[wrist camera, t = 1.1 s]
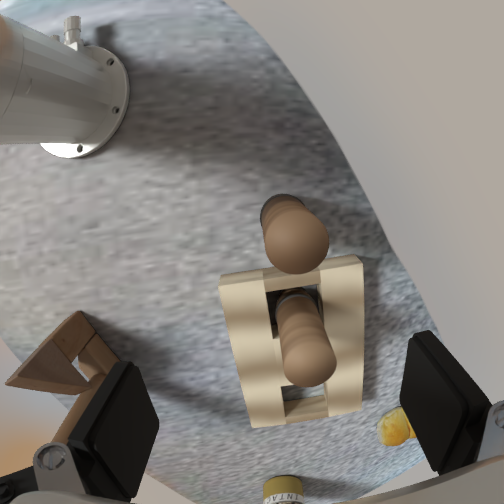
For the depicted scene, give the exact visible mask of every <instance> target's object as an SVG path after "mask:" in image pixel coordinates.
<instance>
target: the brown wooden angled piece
mask: <svg viewBox="0 0 504 504" xmlns="http://www.w3.org/2000/svg"><path fill="white" fill-rule="evenodd" d="M77 355H78V362H79V368H80V369H81V370H82V371H83V373H84V374H85V375H86V376H87V377H88V378H89V379H90V380H89V381H88V382H87V381H86V380H85V379H84V377H83V376H82V375H81V374H80V373H79V372H78V371H77V370H76V368H75V367H74V366H73V365H72V364H71V363H72V362H73V360H74V359H75V358H76V357H77ZM116 362H121V361H120V360H119V359H118V358H117V357H116V355H115V354H114V353H113V352H112V351H111V350H110V348H109V347H108V346H107V345H106V344H105V342H104V341H103V340H102V339H101V338H100V336H99V335H98V334H97V333H96V334H95V330H94V329H93V327H92V326H91V325H90V324H89V322H88V321H87V320H86V318H85V317H84V316H83V314H82V313H81V312H80V311H76V312H75V313H74V314H72V315H71V316H70V317H68V318H67V319H66V320H64V321H63V322H62V323H61V324H60V325H59V326H58V327H57V328H56V329H55V330H54V331H53V332H52V333H51V334H50V335H49V336H48V337H47V338H46V339H45V340H44V341H43V342H42V343H41V344H40V345H39V347H38V348H37V349H36V350H35V351H34V352H33V353H32V354H31V355H30V356H29V357H28V358H27V359H26V360H25V362H24V363H23V364H22V365H21V366H20V367H19V368H18V369H17V370H16V371H15V372H14V374H13V375H12V376H11V377H10V378H9V379H8V380H7V382H5V385H7V386H13V387H18V388H24V389H30V390H36V391H43V392H50V393H58V394H67V395H77V394H80V393H81V394H80V395H79V397H78V399H77V400H76V402H75V403H74V405H73V407H72V408H71V410H70V411H69V413H68V415H67V417H66V418H65V420H64V421H63V423H62V425H61V426H60V428H59V430H58V432H57V433H56V435H55V436H54V438H53V440H52V441H51V442H60V443H63V444H65V445H67V443H68V441H69V440H68V439H67V438H68V437H69V435H70V433H71V432H72V430H73V428H74V427H75V425H76V423H77V422H78V420H79V419H80V417H81V415H82V414H83V412H84V411H85V409H86V407H87V406H88V404H89V403H90V401H91V399H92V398H93V396H94V395H95V393H96V391H97V390H98V388H99V387H100V385H101V384H102V382H103V381H104V379H105V377H106V376H107V374H108V373H109V371H110V370H111V368H112V367H113V365H114V364H115V363H116Z"/></svg>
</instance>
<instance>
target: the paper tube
mask: <svg viewBox="0 0 504 504" xmlns="http://www.w3.org/2000/svg"><path fill="white" fill-rule="evenodd" d="M263 496H264V504H305V502H304V495H303V487H302V482H301V481H300V480H299V479H298V478H296V477H293V476H278V477H274V478H271V479H269V480H268V481H266V482H265V484H264V486H263Z"/></svg>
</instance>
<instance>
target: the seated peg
mask: <svg viewBox="0 0 504 504" xmlns="http://www.w3.org/2000/svg"><path fill="white" fill-rule="evenodd" d="M275 318H276V322H277V324H278V332H279V339H280V346H281V354H282V361H283V368H284V374H285V377H286V378H287V380H288V381H289V382H291V383H292V384H294V385H296V386H299V387H314V386H317V385H320V384H322V383H324V382H325V381H327V380H328V379H329V378H330V377H331V376H332V375H333V374H334V372H335V370H336V366H337V360H336V356H335V354H334V351H333V349H332V346H331V343H330V341H329V338H328V336H327V333H326V331H325V328H324V326H323V323H322V320H321V318H320V315H319V313H318V308H317V305H316V303H315V301H314V300H313V298H312V297H311V296H310V295H309V294H308V293H306V292H305V290H304V289H302V288H301V287H295V288H288V289H283V290H282V291H281V293H280V294H279V297H278V301H277V303H276V308H275Z"/></svg>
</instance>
